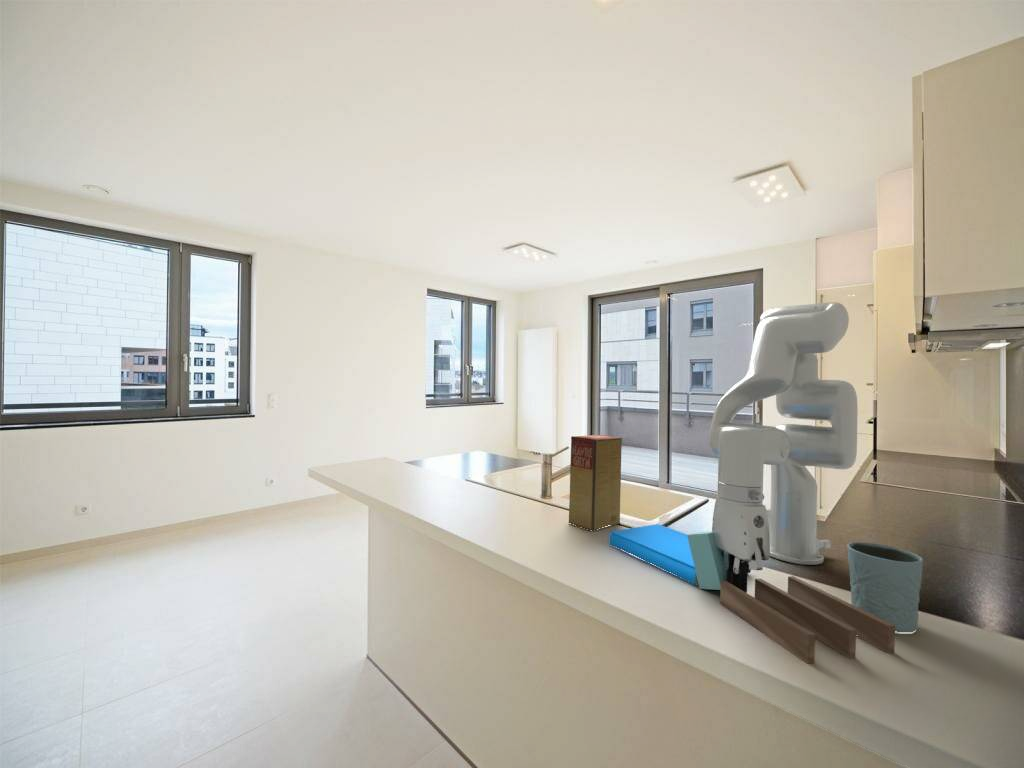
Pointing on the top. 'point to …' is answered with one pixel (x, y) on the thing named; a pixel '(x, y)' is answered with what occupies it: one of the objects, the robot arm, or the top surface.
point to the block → (707, 560)
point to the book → (658, 548)
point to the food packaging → (595, 481)
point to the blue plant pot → (886, 583)
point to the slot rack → (807, 618)
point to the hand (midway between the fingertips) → (736, 592)
